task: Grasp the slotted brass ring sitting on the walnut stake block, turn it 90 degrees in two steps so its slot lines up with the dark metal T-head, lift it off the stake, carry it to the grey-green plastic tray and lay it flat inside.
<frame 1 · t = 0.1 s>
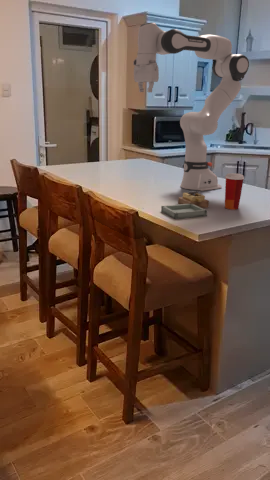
hand: (145, 92, 206), 48 cm above the countertop, fingers open, 8 cm apart
ring: (193, 199, 194), point 3 cm above the countertop, touching stake base
coffee cup: (231, 208, 193), on the countertop
tray: (183, 213, 182), on the countertop
stake: (192, 195, 194), on the stake base, point 5 cm above the countertop
stake base: (192, 205, 195), on the countertop
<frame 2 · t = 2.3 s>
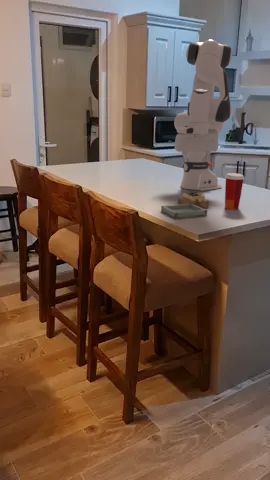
hand: (195, 161, 189), 20 cm above the countertop, fingers open, 8 cm apart
nothing on the countertop moved.
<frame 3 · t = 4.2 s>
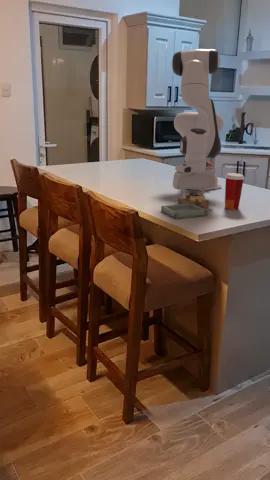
hand: (193, 197, 194), 4 cm above the countertop, fingers closed on ring, 7 cm apart
ring: (193, 199, 194), point 3 cm above the countertop, touching gripper, stake base
everything else where it was.
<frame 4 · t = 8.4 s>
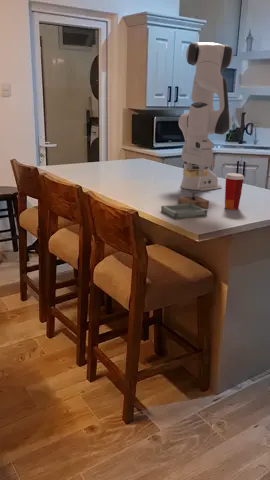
hand: (195, 174, 191), 14 cm above the countertop, fingers closed on ring, 6 cm apart
ring: (195, 175, 191), point 14 cm above the countertop, touching gripper
everything else where it was.
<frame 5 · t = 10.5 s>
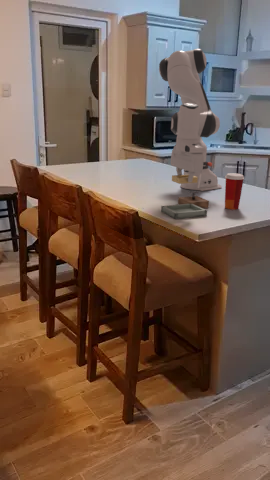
hand: (184, 180, 177), 14 cm above the countertop, fingers closed on ring, 6 cm apart
ring: (184, 181, 177), point 14 cm above the countertop, touching gripper
everything else where it was.
when the fingers open (3 cm above the countertop, at t = 12.4 s): ring drops 1 cm, resting on tray.
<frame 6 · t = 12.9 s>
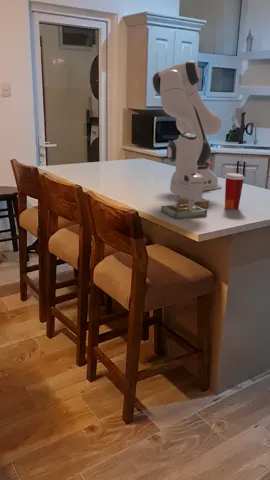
hand: (184, 207, 181), 3 cm above the countertop, fingers open, 8 cm apart
ring: (183, 211, 181), point 1 cm above the countertop, touching tray
everything else where it was.
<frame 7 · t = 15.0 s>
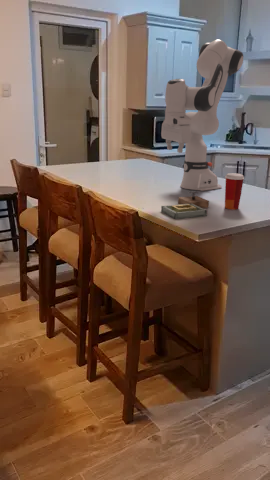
hand: (174, 151, 192), 23 cm above the countertop, fingers open, 8 cm apart
nothing on the countertop moved.
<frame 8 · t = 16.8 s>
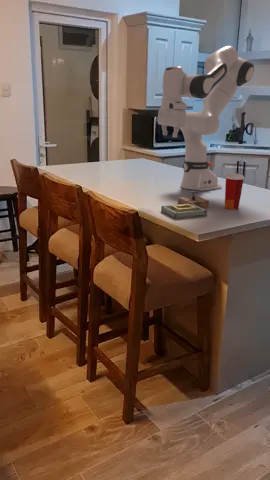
hand: (169, 136, 199), 29 cm above the countertop, fingers open, 8 cm apart
nothing on the countertop moved.
at the end: ring inside the target area on the tray (0.0 cm from its centre), point 0.8 cm above the tray's base; ring tilted 0°; the gripper is holding nothing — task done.
